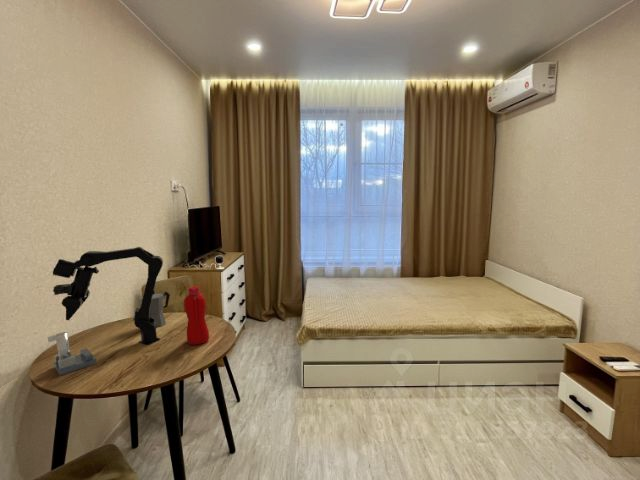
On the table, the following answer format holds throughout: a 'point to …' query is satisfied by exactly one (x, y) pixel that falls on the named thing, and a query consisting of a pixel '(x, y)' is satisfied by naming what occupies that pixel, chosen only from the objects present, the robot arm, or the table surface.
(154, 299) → the coffeepot
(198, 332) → the water bottle
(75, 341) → the table surface
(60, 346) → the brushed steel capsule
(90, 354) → the vise
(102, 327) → the table surface
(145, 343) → the robot arm
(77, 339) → the table surface
